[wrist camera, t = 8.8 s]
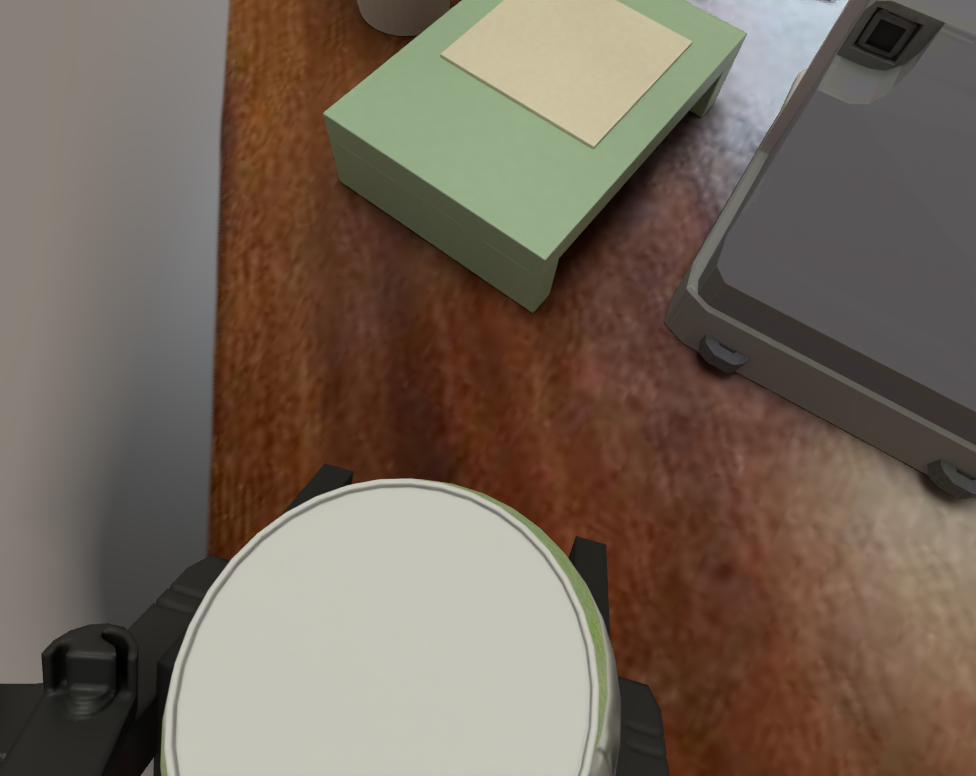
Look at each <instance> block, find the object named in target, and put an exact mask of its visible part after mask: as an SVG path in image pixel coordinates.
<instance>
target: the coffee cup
mask: <svg viewBox="0 0 976 776" xmlns="http://www.w3.org/2000/svg"><path fill="white" fill-rule="evenodd" d="M450 1H451V0H357V2H358V6H359V10H360V12H361V15H362V17H363V18H364V19H365V21H366V22H367V23H368V24H369V25H371V26H372V27H373V28H375V29H377V30H379V31H381V32H384V33H386V34H391V35H395V36H415V35H420V34H421V33H422V32H423V31H424V30H426V29H427V28H428V27H429V26H431V25H432V24H433V23H434V22H435V21H437V20H438V19H439V18H440V17H442V16H443V15H444V14H445V13H447V12H448V11H449V10H450Z"/></svg>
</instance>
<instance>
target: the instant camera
mask: <svg viewBox="0 0 976 776" xmlns="http://www.w3.org/2000/svg"><path fill="white" fill-rule="evenodd" d="M665 324H666V326H667V327H668V328H669V329H670V330H671V331H672V332H673V333H674V334H675V335H676V336H677V338H678V339H679V340H680V341H681V342H682V343H683V344H685V345H687V346H689V347H691V348H692V349H694V350H696V351H698V352H700V354H701V356H702V357H703V358H704V359H705V361H706V362H707V363H709V364H711V365H713V366H715V367H717V368H718V369H720V370H722V371H724V372H731V373H732V372H734V371H735V372H737V373H739V374H741V375H743V376H744V377H746V378H748V379H750V380H752V381H754V382H756V383H757V384H759V385H761V386H763V387H765V388H767V389H769V390H770V391H772V392H774V393H776V394H778V395H780V396H782V397H783V398H785V399H787V400H789V401H791V402H793V403H795V404H796V405H798V406H800V407H802V408H804V409H806V410H808V411H809V412H811V413H813V414H815V415H817V416H819V417H821V418H822V419H824V420H826V421H828V422H830V423H832V424H834V425H835V426H837V427H839V428H841V429H843V430H845V431H847V432H848V433H850V434H852V435H854V436H856V437H858V438H859V439H861V440H863V441H865V442H867V443H869V444H871V445H872V446H874V447H876V448H878V449H880V450H882V451H884V452H885V453H887V454H889V455H891V456H893V457H895V458H897V459H898V460H900V461H902V462H904V463H906V464H908V465H910V466H911V467H913V468H915V469H917V470H919V471H921V472H923V473H924V474H926V475H928V476H930V479H931V480H932V481H933V482H934V483H935V484H936V485H937V486H938V487H939V488H940V489H942V490H944V491H946V492H948V493H950V494H951V495H953V496H955V497H957V498H959V499H967V498H971V497H976V0H849V1H848V3H847V4H846V6H845V8H844V9H843V11H842V13H841V14H840V16H839V18H838V19H837V21H836V22H835V24H834V26H833V27H832V29H831V31H830V32H829V34H828V36H827V37H826V39H825V41H824V42H823V44H822V46H821V47H820V49H819V51H818V52H817V54H816V55H815V57H814V59H813V60H812V62H811V64H810V65H809V67H808V68H807V69H805V70H803V71H802V72H800V73H799V74H798V76H797V77H796V79H795V81H794V82H793V85H792V87H791V89H790V91H789V93H788V95H787V97H786V100H785V102H784V104H783V106H782V108H781V110H780V112H779V114H778V116H777V117H776V119H775V121H774V122H773V124H772V126H771V127H770V129H769V131H768V132H767V134H766V136H765V137H764V139H763V141H762V143H761V144H760V146H759V148H758V149H757V151H756V153H755V155H754V156H753V158H752V160H751V162H750V163H749V165H748V167H747V168H746V170H745V172H744V174H743V175H742V177H741V179H740V181H739V182H738V184H737V186H736V187H735V189H734V191H733V193H732V194H731V196H730V198H729V200H728V201H727V203H726V205H725V206H724V208H723V210H722V212H721V213H720V215H719V217H718V219H717V220H716V222H715V224H714V225H713V227H712V229H711V231H710V232H709V234H708V236H707V238H706V239H705V241H704V243H703V244H702V246H701V248H700V250H699V251H698V253H697V255H696V257H695V258H694V260H693V262H692V263H691V265H690V267H689V269H688V270H687V272H686V274H685V276H684V277H683V279H682V281H681V282H680V284H679V286H678V288H677V289H676V291H675V293H674V295H673V296H672V298H671V301H670V304H669V308H668V312H667V315H666V319H665Z"/></svg>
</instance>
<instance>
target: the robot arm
mask: <svg viewBox="0 0 976 776" xmlns="http://www.w3.org/2000/svg"><path fill="white" fill-rule="evenodd" d="M352 477H353V471H349V470H346V469H343V468H339V467H336V466H332V465H329V464H324V465H323V466H322V468H321V469H320V470H319V471H318V472H317V474H316V475H315V476H314V477H313V478H312V479H311V481H310V482H309V483H308V484H307V485H306V487H305V488H304V489H303V490H302V491H301V492H300V494H299V495H298V496H297V497H296V498H295V499H294V501H293V502H292V503H291V504H290V505H289V507H288V508H287V509H286V510H285V511H284V512H283V514H285V513H286V512H288V511H290V510H292V509H293V508H295V507H297V506H299V505H301V504H303V503H305V502H307V501H308V500H310V499H312V498H314V497H316V496H319V495H321V494H324V493H327V492H330V491H333V490H336V489H339V488H341V487H344V486H347V485H351V483H352ZM283 514H282V515H283ZM282 515H281V516H282ZM281 516H280V517H281ZM568 559H569V560H570V562H571V563H572V564H573V566H574V567H575V569H576V570H577V572H578V573H579V574H580V576H581V577H582V579H583V580H584V582H585V583H586V584H587V586H588V589H589V591H590V593H591V595H592V597H593V599H594V601H595V603H596V605H597V607H598V609H599V611H600V613H601V615H602V617H603V620H604V623H605V626H606V630H607V633H608V636H609V639H610V627H609V604H608V580H607V557H606V545H605V544H602V543H598V542H595V541H591V540H588V539H584V538H581V537H577V536H576V538H575V541H574V544H573V547H572V550H571V552H570V555H569V558H568ZM229 562H230V561H229V560H226V559H222V558H219V557H216V556H212V555H211V556H209V557H207V558H205V559H203V560H202V561H200V562H198V563H196V564H194V565H192V566H190V567H188V568H187V569H186V570H185V571H184V572H183V573H182V574H181V575H180V576H179V577H178V578H177V579H176V581H174V582H173V584H172V585H171V587H170V588H169V589H167V590H166V591H165V592H164V593H163V594H162V595H161V596H160V597H159V598H158V599H157V601H156V603H155V604H154V603H153V604H152V605H151V606H150V607H149V608H148V609H147V610H146V612H145V613H144V614H143V615H142V616H141V617H140V618H139V619H138V620H137V621H136V622H135V623H134V624H133V625H132V626H131V627H130V628H129V629H128V630H127V629H126V628H124V627H121V626H117V625H112V624H108V623H107V624H92V625H87V626H83V627H81V628H77V629H74V630H71V631H69V632H68V633H65V634H64V635H62V636H61V637H59V638H57V639H55V640H54V641H53V642H52V643H51V644H50V645H49V646H48V647H47V648H46V649H45V650H44V651H43V653H42V654H41V655H42V670H43V683H38V684H0V776H141V774H142V773H143V771H144V770H145V768H146V767H147V766H148V764H149V763H150V762H151V760H152V759H153V758H154V775H153V776H161V768H160V764H161V742H162V720H163V715H164V710H165V705H166V700H167V696H168V691H169V686H170V681H171V676H172V673H173V669H174V664H175V662H176V659H177V656H178V653H179V651H180V648H181V645H182V643H183V640H184V637H185V635H186V632H187V629H188V626H189V624H190V622H191V621H192V619H193V617H194V615H195V613H196V611H197V610H198V608H199V606H200V604H201V602H202V601H203V599H204V597H205V595H206V593H207V591H208V590H209V588H210V587H211V586H212V584H213V583H214V582H215V580H216V579H217V578H218V576H219V575H220V574H221V572H222V571H223V570H224V569H225V567H226V566H227V565H228V563H229ZM618 682H619V689H620V697H621V730H620V749H619V755H618V761H617V766H616V772H615V776H669V770H668V763H667V759H666V747H665V739H663V735H664V731H663V724H662V716H661V709H660V707H659V705H658V703H657V702H656V700H655V698H654V696H653V694H652V692H651V690H650V688H649V686H648V685H646V684H642V683H639V682H636V681H632V680H629V679H626V678H622V677H619V676H618Z"/></svg>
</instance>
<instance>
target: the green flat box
mask: <svg viewBox="0 0 976 776" xmlns="http://www.w3.org/2000/svg"><path fill="white" fill-rule="evenodd" d="M746 35H747V33H745V32H744V31H742V30H740V29H738V28H736V27H734V26H732V25H730V24H728V23H726V22H724V21H723V20H721V19H719V18H717V17H715V16H713V15H711V14H709V13H707V12H705V11H704V10H702V9H700V8H698V7H696V6H694V5H692V4H690V3H688V2H686V1H685V0H461V1H460V2H459V3H458V4H456V5H455V6H454V7H453V8H451V9H450V10H449V11H448V12H447V13H445V14H444V15H443V16H442V17H440V18H439V19H438V20H437V21H435V22H434V23H433V24H432V25H431V26H429V27H428V28H427V29H426V30H424V31H423V32H422V33H421V34H420V35H418V36H417V37H416V38H415V39H413V40H412V41H411V42H410V43H408V44H407V45H406V46H405V47H404V48H402V49H401V50H400V51H399V52H397V53H396V54H395V55H394V56H392V57H391V58H390V59H389V60H388V61H386V62H385V63H384V64H383V65H381V66H380V67H379V68H378V69H377V70H375V71H374V72H373V73H372V74H370V75H369V76H368V77H367V78H365V79H364V80H363V81H362V82H361V83H359V84H358V85H357V86H356V87H354V88H353V89H352V90H351V91H349V92H348V93H347V94H346V95H345V96H343V97H342V98H341V99H340V100H338V101H337V102H336V103H335V104H334V105H332V106H331V107H330V108H329V109H327V110H326V111H325V112H324V113H323V116H324V120H325V124H326V128H327V132H328V136H329V139H330V143H331V147H332V151H333V155H334V159H335V164H336V168H337V172H338V176H339V180H340V182H342V183H343V184H345V185H346V186H348V187H349V188H351V189H352V190H354V191H355V192H356V193H358V194H359V195H361V196H362V197H364V198H365V199H367V200H368V201H370V202H371V203H373V204H374V205H375V206H377V207H378V208H380V209H381V210H383V211H384V212H386V213H387V214H389V215H390V216H391V217H393V218H394V219H396V220H397V221H399V222H400V223H402V224H403V225H405V226H406V227H408V228H409V229H410V230H412V231H413V232H415V233H416V234H418V235H419V236H421V237H422V238H424V239H425V240H427V241H428V242H429V243H431V244H432V245H434V246H435V247H437V248H438V249H440V250H441V251H443V252H444V253H445V254H447V255H448V256H450V257H451V258H453V259H454V260H456V261H457V262H459V263H460V264H462V265H463V266H464V267H466V268H467V269H469V270H470V271H472V272H473V273H475V274H476V275H478V276H479V277H481V278H482V279H483V280H485V281H486V282H488V283H489V284H491V285H492V286H494V287H495V288H497V289H498V290H500V291H501V292H502V293H504V294H505V295H507V296H508V297H510V298H511V299H513V300H514V301H516V302H517V303H518V304H520V305H521V306H523V307H524V308H526V309H527V310H529V311H530V312H532V313H534V312H535V311H536V309H537V308H538V307H539V306H540V305H541V304H542V302H543V301H544V300H545V299H546V298H547V297H548V296H549V294H550V290H551V287H552V283H553V279H554V275H555V272H556V268H557V264H558V260H559V258H560V257H561V255H562V254H563V253H564V252H565V251H566V250H567V249H568V247H569V246H570V245H571V244H572V243H573V242H574V241H575V240H576V238H577V237H578V236H579V235H580V234H581V233H582V232H583V230H584V229H585V228H586V227H587V226H588V225H589V224H590V222H591V221H592V220H593V219H594V218H595V217H596V216H597V215H598V213H599V212H600V211H601V210H602V209H603V208H604V207H605V205H606V204H607V203H608V202H609V201H610V200H611V199H612V198H613V196H614V195H615V194H616V193H617V192H618V191H619V190H620V188H621V187H622V186H623V185H624V184H625V183H626V182H627V180H628V179H629V178H630V177H631V176H632V175H633V174H634V173H635V171H636V170H637V169H638V168H639V167H640V166H641V165H642V163H643V162H644V161H645V160H646V159H647V158H648V157H649V155H650V154H651V153H652V152H653V151H654V150H655V149H656V148H657V146H658V145H659V144H660V143H661V142H662V141H663V140H664V138H665V137H666V136H667V135H668V134H669V133H670V132H671V130H672V129H673V128H674V127H675V126H676V125H677V124H678V123H679V121H680V120H681V119H682V118H683V117H684V116H685V115H686V113H687V112H688V111H691V112H693V113H695V114H696V115H698V116H700V117H703V116H704V114H705V113H706V112H707V111H708V110H709V109H710V107H711V106H712V105H713V104H714V102H715V100H716V98H717V96H718V94H719V92H720V89H721V87H722V85H723V83H724V81H725V79H726V77H727V75H728V73H729V70H730V68H731V66H732V64H733V62H734V60H735V58H736V56H737V54H738V52H739V50H740V48H741V45H742V43H743V41H744V39H745V37H746Z"/></svg>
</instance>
